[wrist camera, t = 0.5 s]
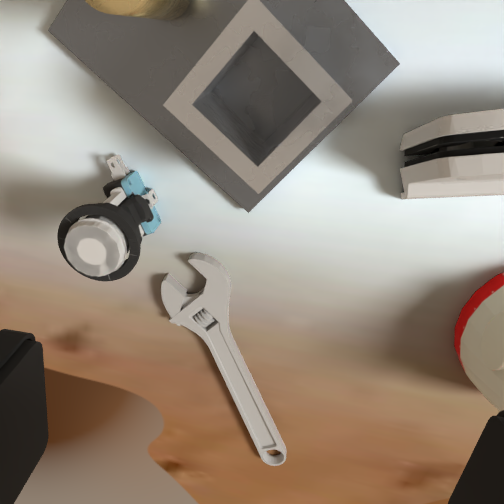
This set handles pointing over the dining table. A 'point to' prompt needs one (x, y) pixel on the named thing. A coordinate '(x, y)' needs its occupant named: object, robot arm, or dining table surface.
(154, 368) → the dining table surface
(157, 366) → the dining table surface
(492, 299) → the kitchen timer
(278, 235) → the dining table surface
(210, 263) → the adjustable wrench
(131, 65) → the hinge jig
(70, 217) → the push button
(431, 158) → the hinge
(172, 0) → the brass pin
